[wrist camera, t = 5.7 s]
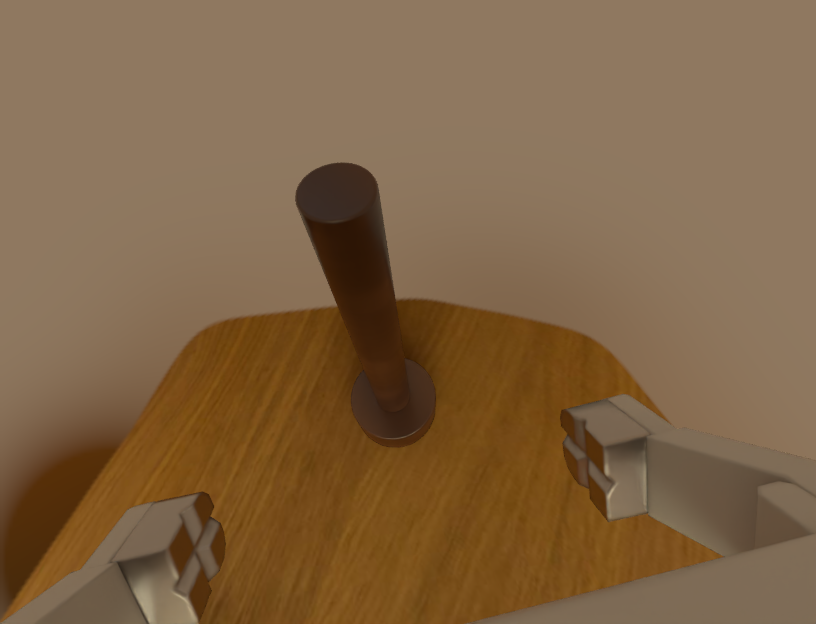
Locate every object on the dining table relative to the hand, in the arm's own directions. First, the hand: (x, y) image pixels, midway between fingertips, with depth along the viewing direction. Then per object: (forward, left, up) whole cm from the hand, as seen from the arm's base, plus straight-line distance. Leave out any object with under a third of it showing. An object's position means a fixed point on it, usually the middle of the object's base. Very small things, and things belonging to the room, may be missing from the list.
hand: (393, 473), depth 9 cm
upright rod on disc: (-2, -6, -15) cm, 17 cm away
